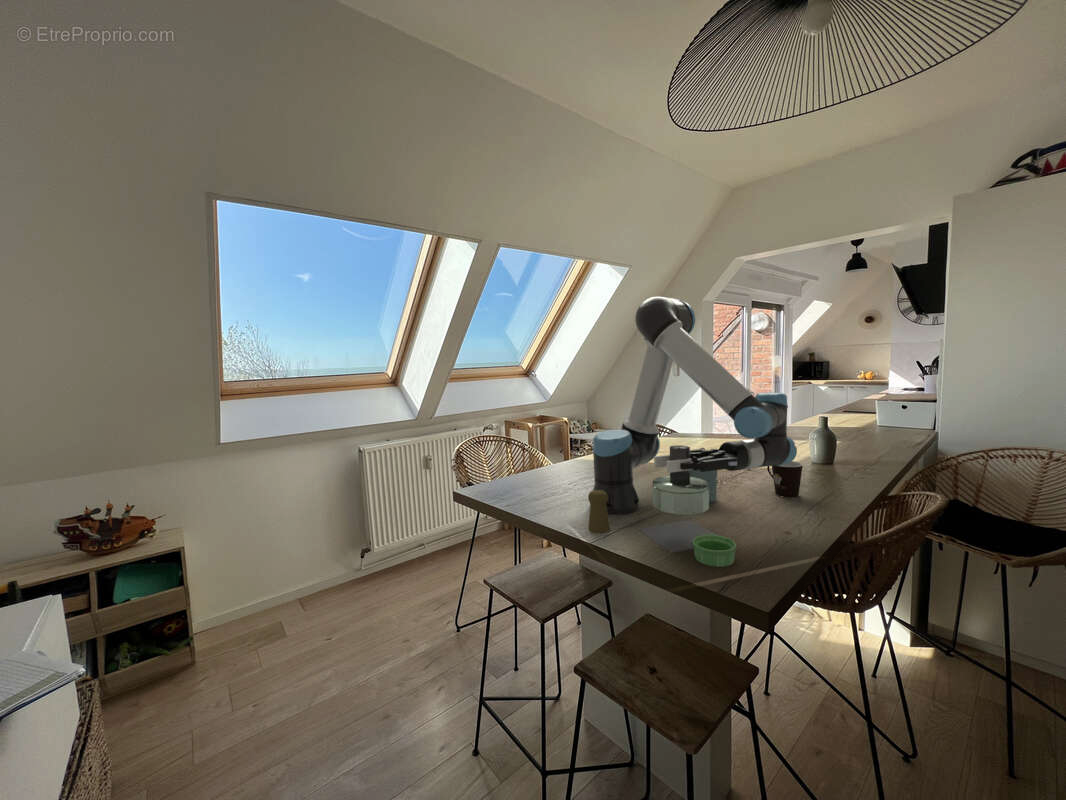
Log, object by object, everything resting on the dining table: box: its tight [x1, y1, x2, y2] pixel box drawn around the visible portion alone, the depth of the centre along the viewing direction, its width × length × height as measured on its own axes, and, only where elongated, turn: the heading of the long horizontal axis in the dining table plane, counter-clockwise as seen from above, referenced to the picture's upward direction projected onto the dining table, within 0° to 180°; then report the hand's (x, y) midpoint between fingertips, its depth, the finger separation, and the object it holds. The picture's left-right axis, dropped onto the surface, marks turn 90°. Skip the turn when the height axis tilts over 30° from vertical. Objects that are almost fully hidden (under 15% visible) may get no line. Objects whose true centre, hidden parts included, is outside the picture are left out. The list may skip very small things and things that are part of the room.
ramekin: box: [693, 534, 737, 568], centre depth 100 cm, size 9×9×4 cm
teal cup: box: [690, 469, 718, 503], centre depth 141 cm, size 10×10×12 cm
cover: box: [652, 444, 710, 516], centre depth 112 cm, size 13×13×15 cm
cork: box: [587, 489, 611, 534], centre depth 120 cm, size 6×6×11 cm
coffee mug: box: [766, 460, 804, 498], centre depth 143 cm, size 12×9×10 cm
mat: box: [636, 519, 717, 554], centre depth 114 cm, size 16×16×1 cm
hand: (661, 464), depth 110 cm, fingers closed on cover, 5 cm apart
